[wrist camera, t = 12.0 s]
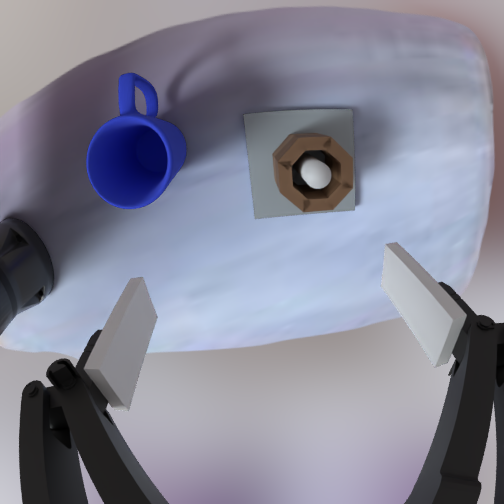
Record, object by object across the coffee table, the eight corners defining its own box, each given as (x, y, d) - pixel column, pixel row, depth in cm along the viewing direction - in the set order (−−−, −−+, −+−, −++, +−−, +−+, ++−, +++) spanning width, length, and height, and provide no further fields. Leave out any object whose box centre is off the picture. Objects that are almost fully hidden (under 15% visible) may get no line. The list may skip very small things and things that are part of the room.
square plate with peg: (254, 216, 34) (256, 244, 27) (243, 114, 29) (241, 112, 22) (352, 207, 34) (377, 232, 27) (349, 109, 29) (378, 108, 21)
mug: (192, 78, 27) (169, 62, 18) (196, 181, 32) (176, 207, 23) (124, 88, 27) (80, 82, 18) (131, 185, 32) (92, 212, 23)
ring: (275, 197, 32) (281, 214, 27) (270, 135, 29) (275, 139, 24) (336, 192, 32) (353, 208, 27) (333, 132, 29) (352, 136, 24)
